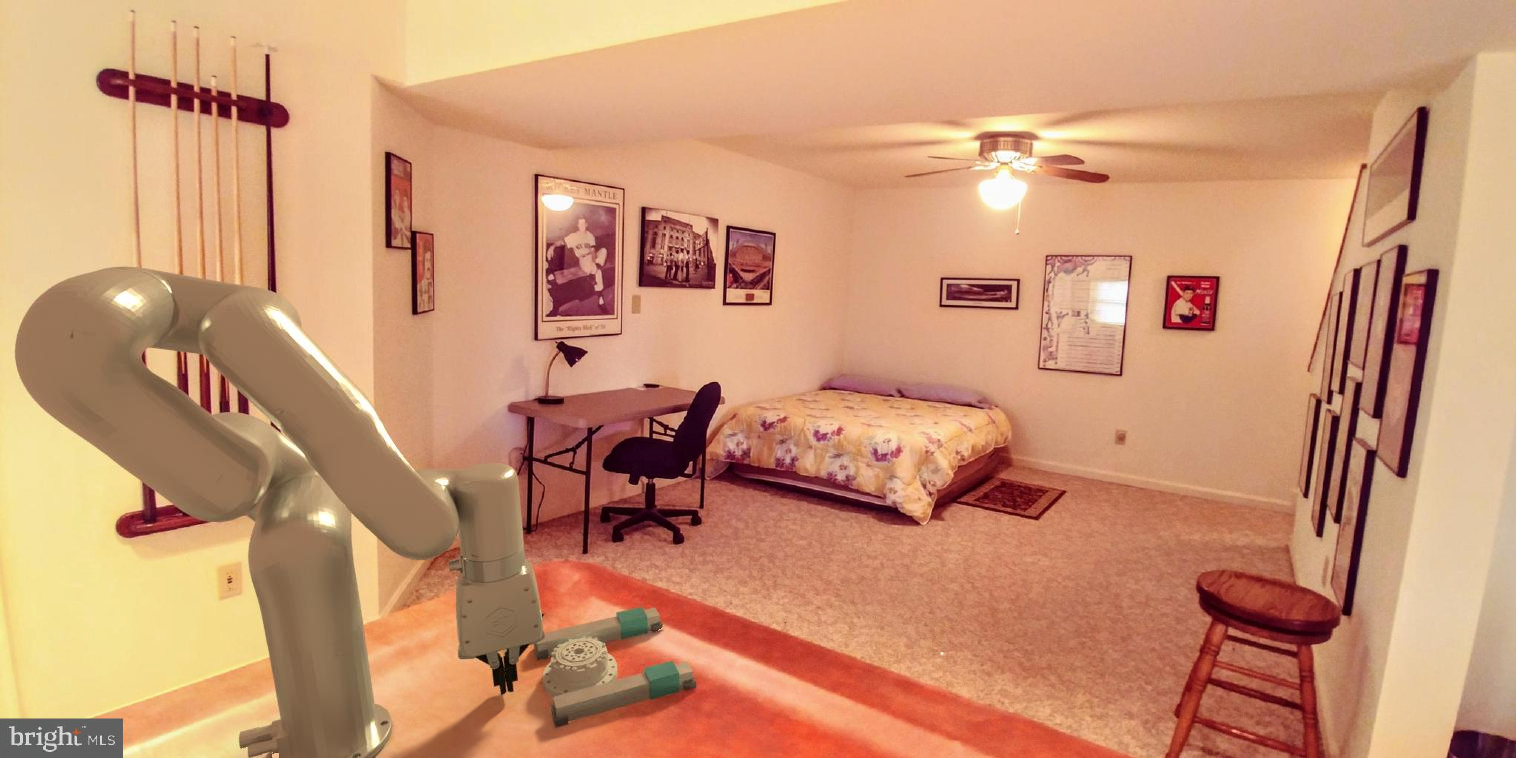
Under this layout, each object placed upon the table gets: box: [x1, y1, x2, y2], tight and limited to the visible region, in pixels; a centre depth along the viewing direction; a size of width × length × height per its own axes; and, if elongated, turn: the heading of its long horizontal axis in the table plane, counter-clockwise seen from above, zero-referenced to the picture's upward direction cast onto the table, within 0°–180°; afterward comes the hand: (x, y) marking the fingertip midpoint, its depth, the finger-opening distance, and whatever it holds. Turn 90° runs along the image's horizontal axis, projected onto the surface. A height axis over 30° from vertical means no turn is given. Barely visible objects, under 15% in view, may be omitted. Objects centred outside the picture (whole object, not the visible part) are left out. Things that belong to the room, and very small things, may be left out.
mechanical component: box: [542, 636, 618, 698], centre depth 100 cm, size 10×4×10 cm
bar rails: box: [533, 606, 697, 729], centre depth 103 cm, size 19×18×3 cm
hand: (506, 686), depth 97 cm, fingers closed
